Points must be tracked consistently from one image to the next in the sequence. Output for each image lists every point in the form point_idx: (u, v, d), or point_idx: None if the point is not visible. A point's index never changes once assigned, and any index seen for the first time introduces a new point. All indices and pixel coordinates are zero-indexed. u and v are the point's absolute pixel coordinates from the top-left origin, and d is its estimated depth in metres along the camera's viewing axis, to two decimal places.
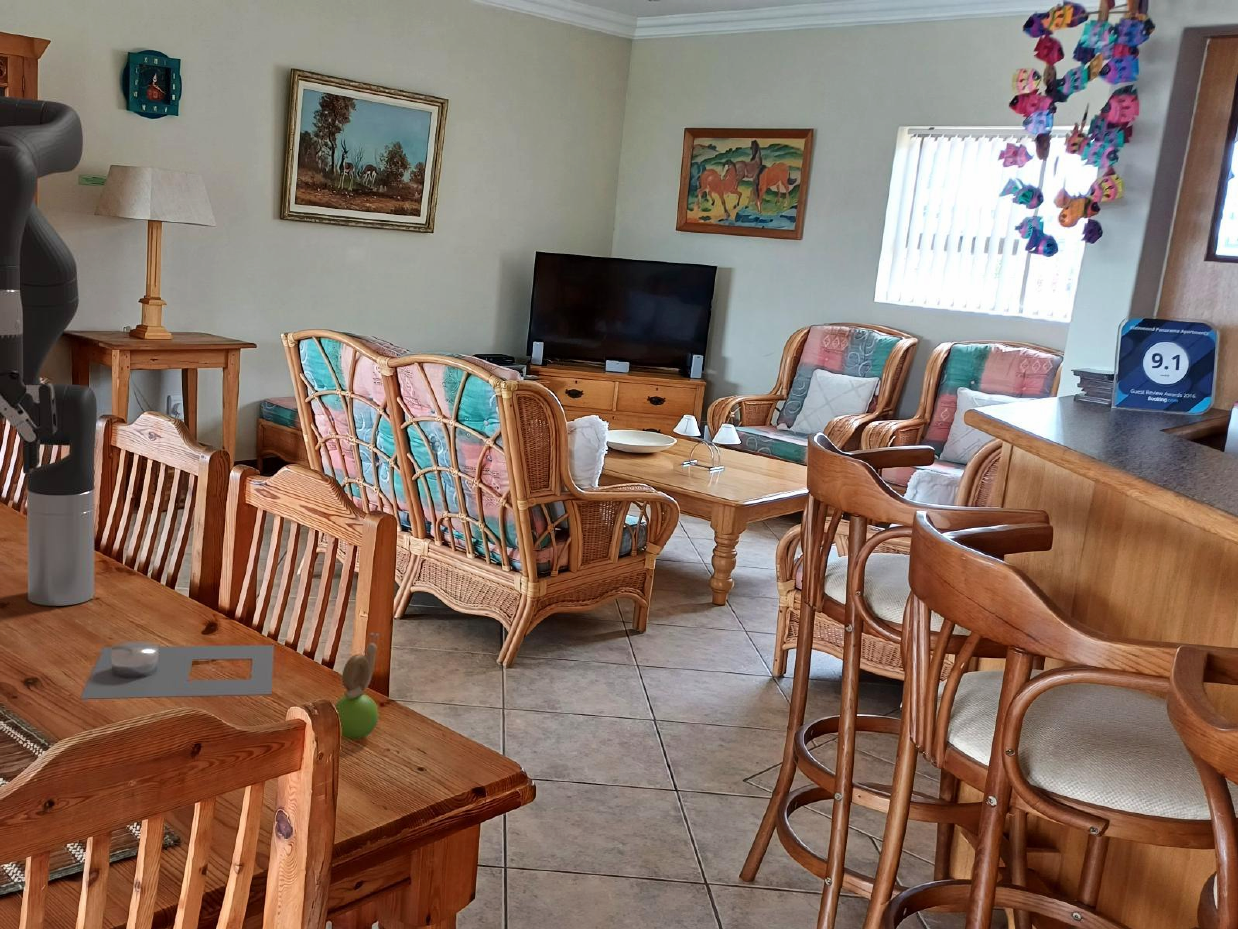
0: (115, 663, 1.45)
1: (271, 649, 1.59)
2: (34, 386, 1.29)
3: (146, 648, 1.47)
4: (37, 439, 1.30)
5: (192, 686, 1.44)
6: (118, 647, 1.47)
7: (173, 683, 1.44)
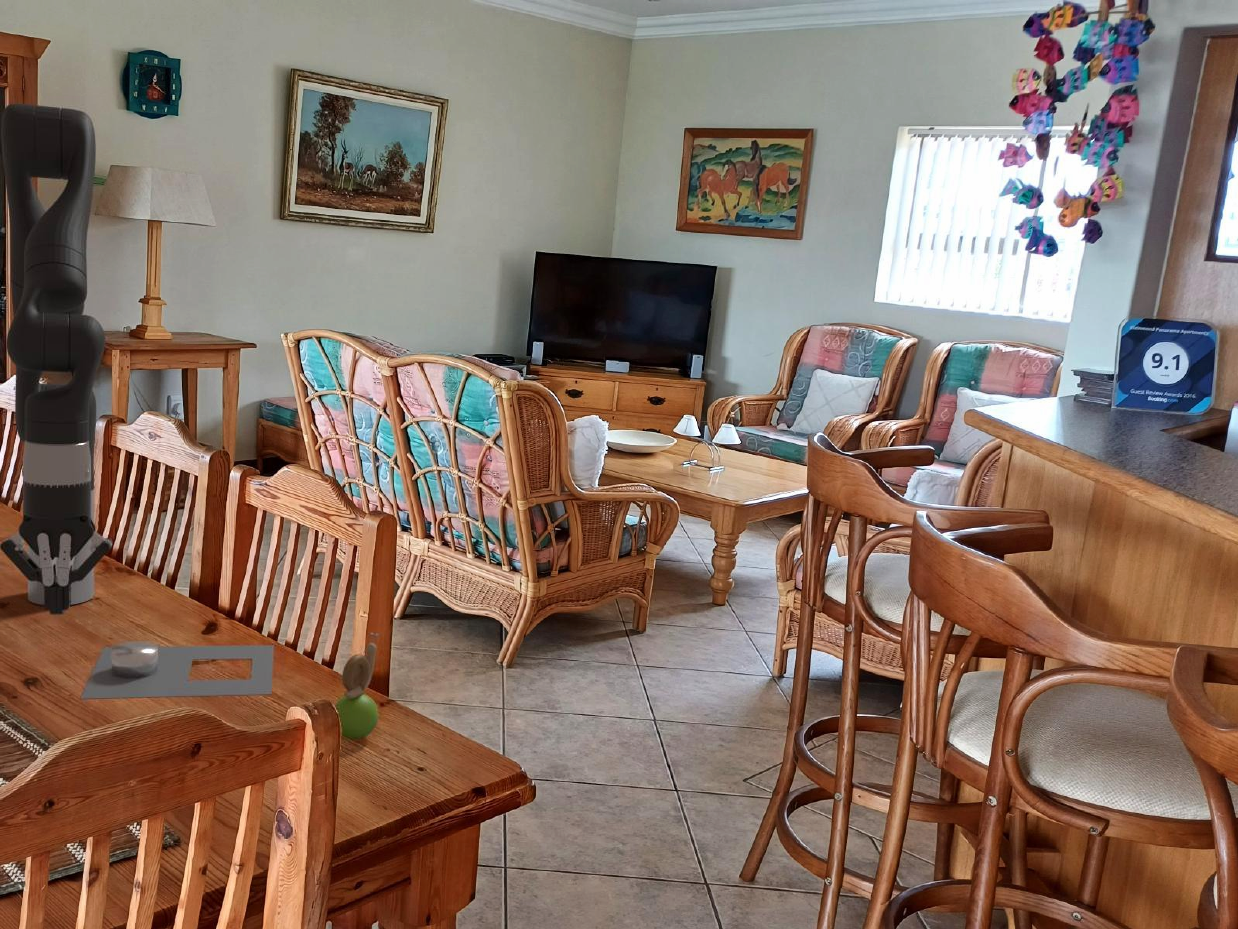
0: (115, 663, 1.45)
1: (271, 649, 1.59)
2: (99, 538, 1.43)
3: (146, 648, 1.47)
4: (69, 583, 1.42)
5: (192, 686, 1.44)
6: (118, 647, 1.47)
7: (173, 683, 1.44)
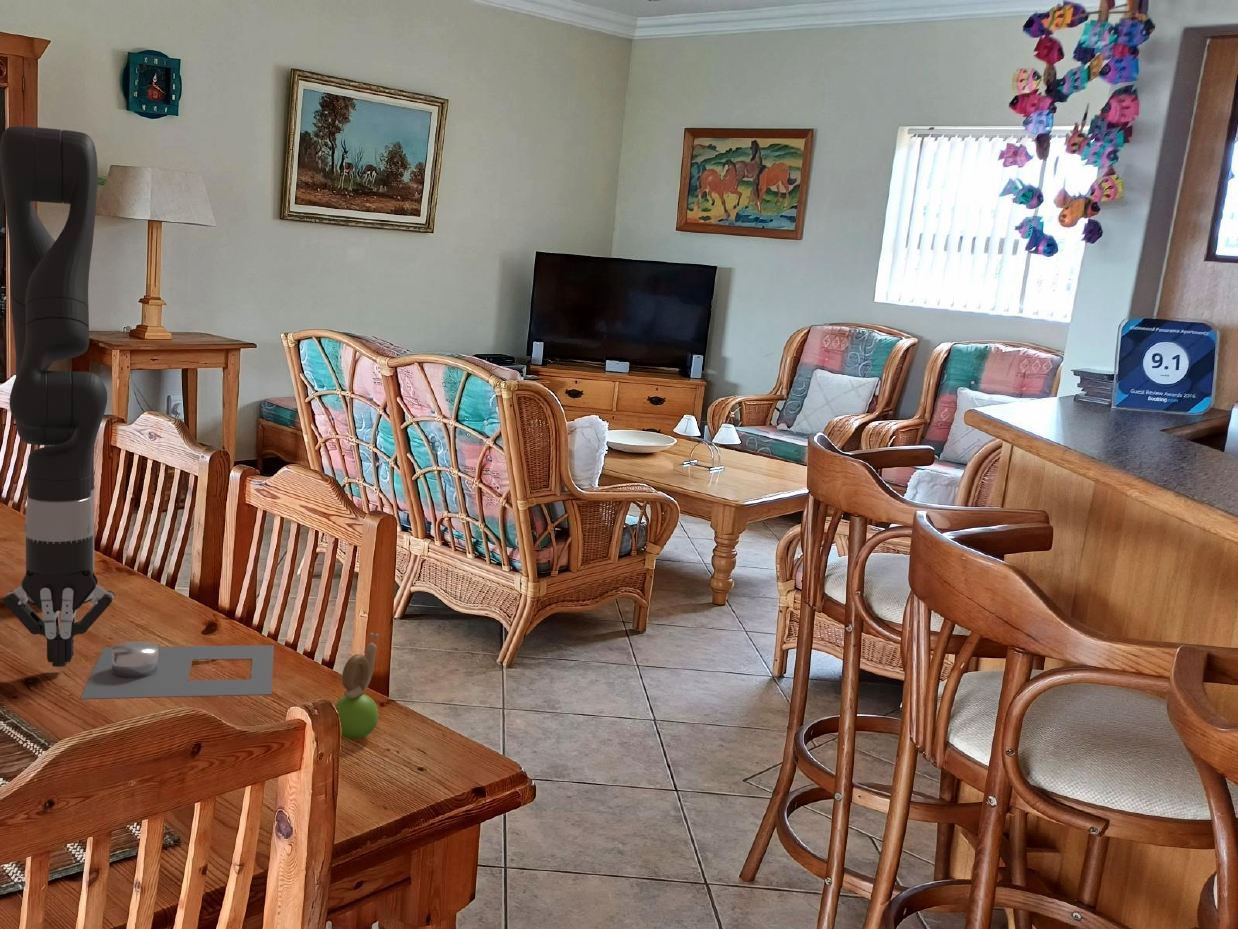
0: (115, 663, 1.45)
1: (271, 649, 1.59)
2: (101, 591, 1.44)
3: (146, 648, 1.47)
4: (72, 636, 1.44)
5: (192, 686, 1.44)
6: (118, 647, 1.47)
7: (173, 683, 1.44)
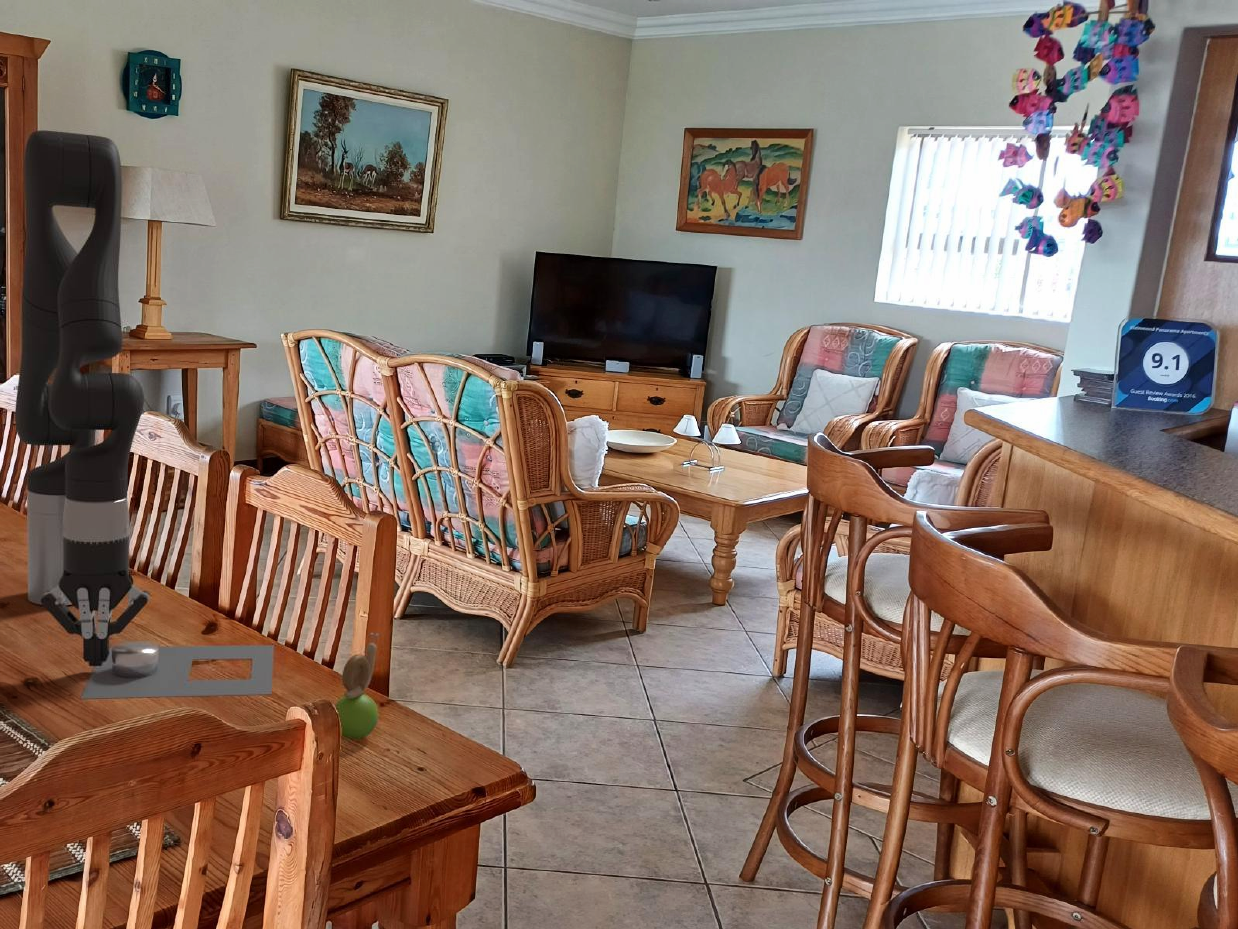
0: (115, 663, 1.45)
1: (271, 649, 1.59)
2: (137, 591, 1.45)
3: (146, 648, 1.47)
4: (108, 635, 1.45)
5: (192, 686, 1.44)
6: (118, 647, 1.47)
7: (173, 683, 1.44)
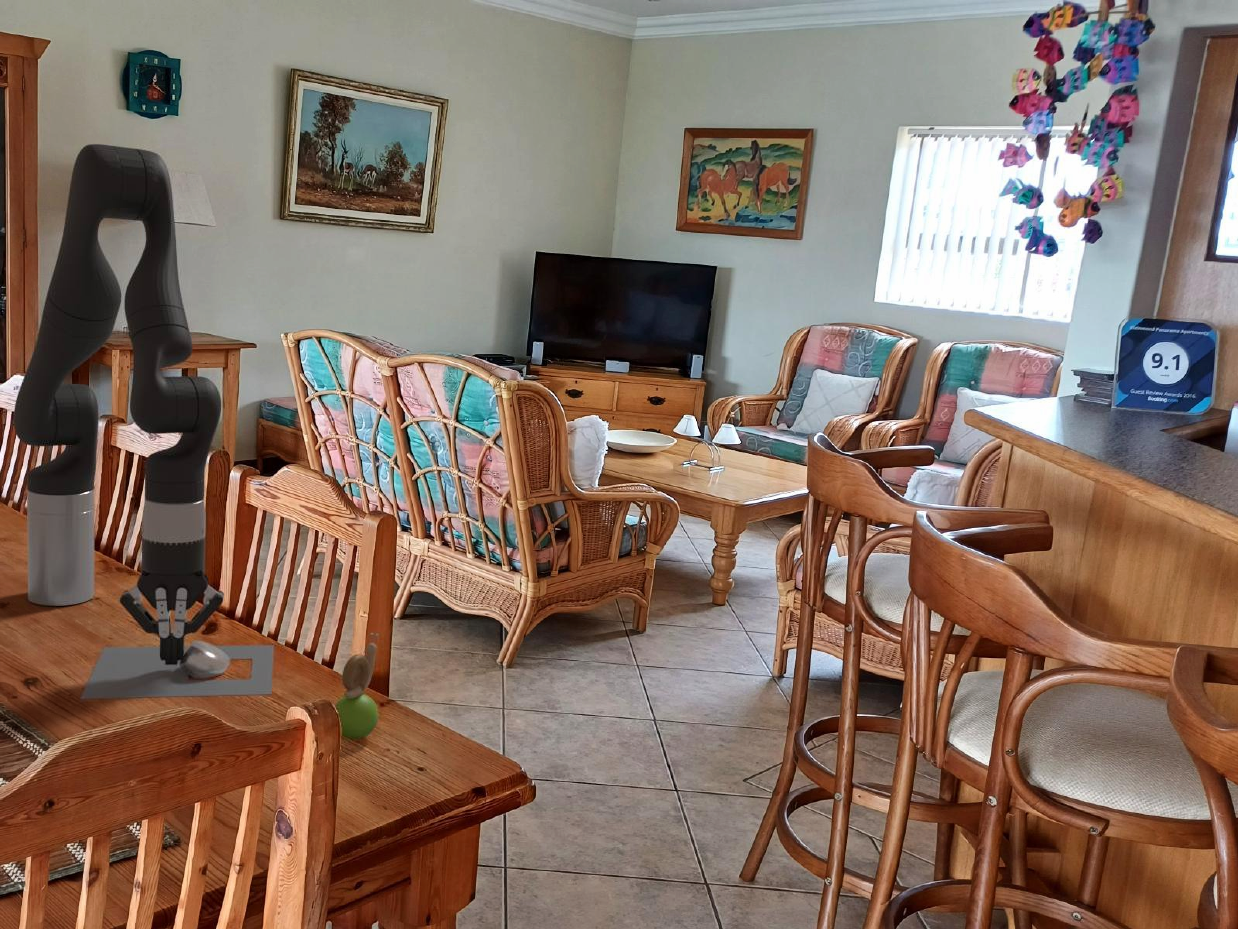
0: (188, 657, 1.47)
1: (271, 649, 1.59)
2: (212, 591, 1.48)
3: (220, 656, 1.50)
4: (184, 635, 1.47)
5: (192, 686, 1.44)
6: (197, 644, 1.49)
7: (173, 683, 1.44)
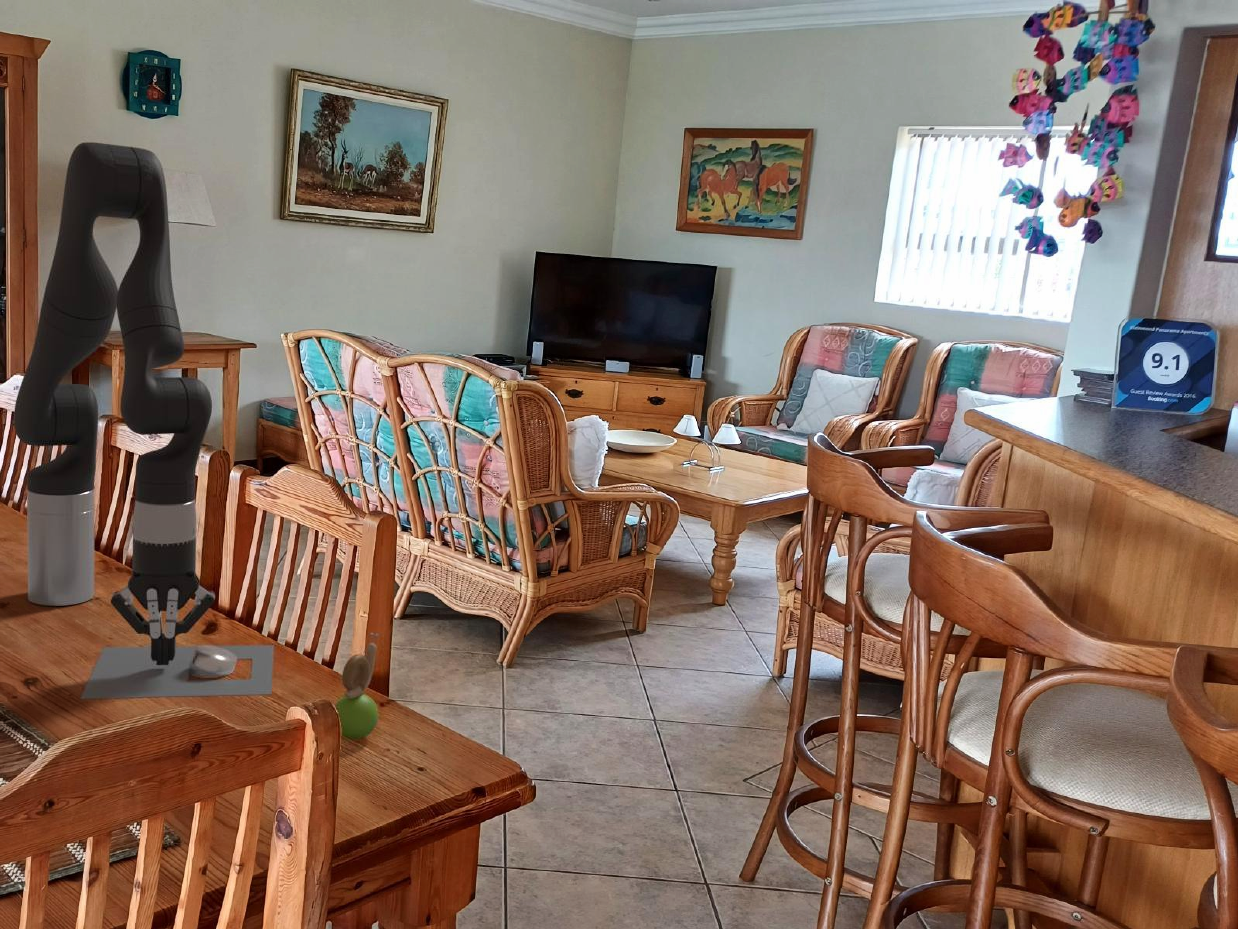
0: (194, 662, 1.48)
1: (271, 649, 1.59)
2: (203, 592, 1.48)
3: (226, 656, 1.50)
4: (175, 635, 1.48)
5: (192, 686, 1.44)
6: (201, 648, 1.50)
7: (173, 683, 1.44)
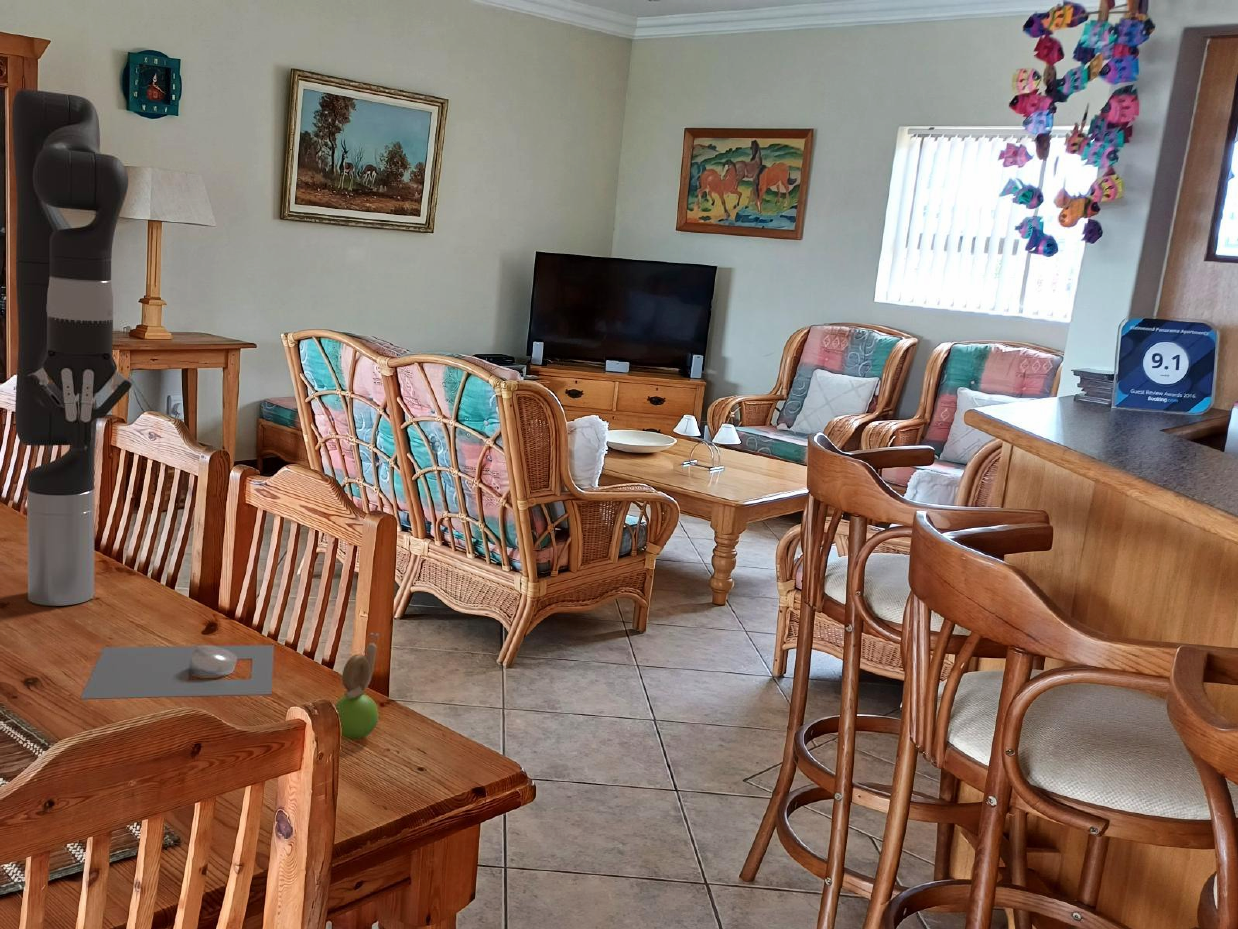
0: (194, 662, 1.48)
1: (271, 649, 1.59)
2: (121, 377, 1.47)
3: (226, 656, 1.50)
4: (91, 420, 1.47)
5: (192, 686, 1.44)
6: (201, 648, 1.50)
7: (173, 683, 1.44)
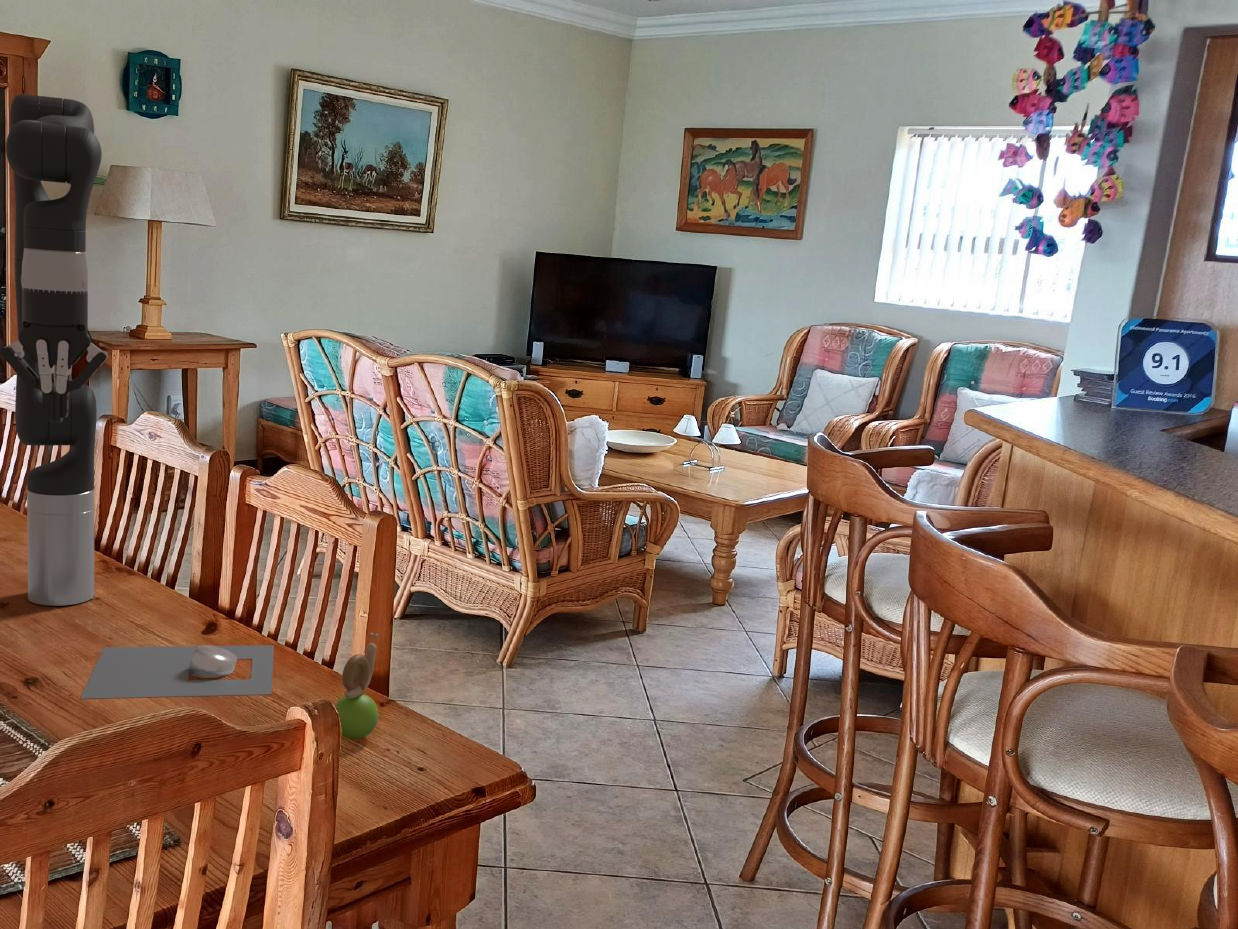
0: (194, 662, 1.48)
1: (271, 649, 1.59)
2: (96, 348, 1.48)
3: (226, 656, 1.50)
4: (67, 391, 1.48)
5: (192, 686, 1.44)
6: (201, 648, 1.50)
7: (173, 683, 1.44)
